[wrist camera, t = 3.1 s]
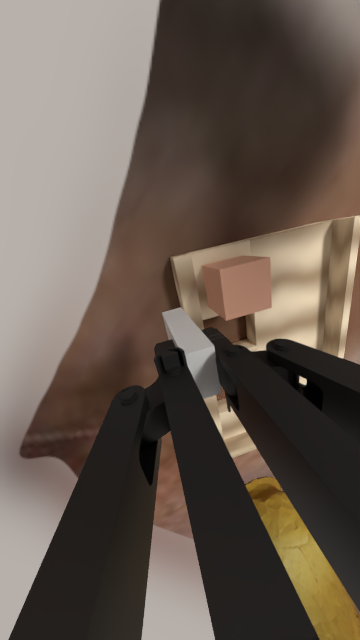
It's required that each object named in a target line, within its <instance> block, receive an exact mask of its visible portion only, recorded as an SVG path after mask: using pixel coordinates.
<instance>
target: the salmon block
mask: <svg viewBox="0 0 360 640" xmlns="http://www.w3.org/2000/svg"><path fill="white" fill-rule="evenodd" d="M202 270H203V276H204V282H205V288H206V295H207V301H208V307H209V308H210V309H212V310H213V311H214V312H216V313H217V314H218V315H219V316H221V317H222V318H223V319H224V320H226V321H227V320H231V319H234V318H238V317H241V316H245V315H248V314H252V313H255V312H258V311H262V310H265V309H269V308H272V297H271V263H270V257H260V256H244V255H243V256H238V257H234V258H230V259H226V260H222V261H218V262H214V263H210V264H206V265H202Z"/></svg>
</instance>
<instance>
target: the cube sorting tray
mask: <svg viewBox="0 0 360 640" xmlns="http://www.w3.org/2000/svg"><path fill="white" fill-rule="evenodd" d="M359 238H360V216H353V217H346V218H339V219H333V220H326V221H320V222H316V223H312V224H308V225H303V226H299V227H295V228H291V229H286V230H282V231H278V232H274V233H269V234H265V235H261V236H257V237H252V238H248V239H244V240H240V241H235V242H231V243H227V244H223V245H218V246H214V247H210V248H206V249H201V250H197V251H193V252H189V253H184V254H180V255H176V256H172V257H170V262H171V266H172V271H173V276H174V280H175V285H176V289H177V294H178V298H179V303H180V307H181V308H182V309H183V310H184V311H185V312H186V314H187V315H188V316H189V317H190V318H191V319H192V321H193V322H194V323H195V324H196V325H197V326H198V328H199V329H200V330H203V329H204V325H203V320H206V319H209V318H213V317H216V316H219V315H218V314H217V313H216V312H214V311H213V310H212V309H210V308H209V307H208V301H207V295H206V288H205V282H204V276H203V270H202V265H206V264H210V263H214V262H218V261H222V260H226V259H230V258H234V257H238V256H243V255H244V256H260V257H270V263H271V297H272V308H269V309H265V310H262V311H258V312H255V313H252V314H248V315H245V318H246V330H247V338H246V339H243V340H240V341H236V342H233V343H232V344H233V345H242V346H244V347H246V348H247V349H249V350H250V351H251V352H252V351H263V350H266V344H267V343H268V342H269V341H271V340H274V339H289V340H293V341H295V342H298V343H301V344H304V345H306V346H309V347H312V348H315V349H318V350H320V351H323V352H326V353H329V354H331V355H334V356H337V357H340V358H342V359H343V358H344V350H345V343H346V335H347V328H348V320H349V313H350V306H351V298H352V291H353V283H354V276H355V268H356V261H357V253H358V246H359ZM299 383H301V384H304V385H306V384H307V379H305V378H303V377H301V376H300V377H299ZM204 401H205V403H206V405H207V407H208V409H209V411H210V414H211V416H212V418H213V420H214V422H215V424H216V426H217V428H218V430H219V432H220V434H221V436H222V438H223V440H224V442H225V445H226V447H227V449H228V451H229V453H230V455H231V457H232V458H234V457H237V456H239V455H242V454H244V453H247V452H250V451H252V450H255V449H257V448H256V446H255V444H254V443H253V441H252V440H251V438H250V436H249V435H248V433H247V432H246V430H245V428H244V427H243V425H242V424H241V422H240V421H239V419H238V417H237V416H236V414H235V413H234V411H233V409H232V408H231V406H230V409H231V412H228V409H227V402H226V398H224V399H221V400H218V401H217V398H216V395H214V396H212V397H209V398H206V399H204Z"/></svg>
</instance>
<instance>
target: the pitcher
mask: <svg viewBox="0 0 360 640" xmlns="http://www.w3.org/2000/svg"><path fill="white" fill-rule="evenodd" d="M245 486H246V488H247V490H248V492H249V494H250V496H251V498H252V500H253V503H254V505H255V507H256V509H257V511H258V513H259V515H260V517H261V519H262V521H263V523H264V525H265V527H266V529H267V531H268V534H269V536H270V538H271V540H272V542H273V544H274V546H275V548H276V550H277V552H278V554H279V556H280V558H281V560H282V563H283V565H284V567H285V569H286V571H287V573H288V575H289V577H290V579H291V581H292V583H293V585H294V587H295V589H296V592H297V594H298V596H299V598H300V600H301V602H302V604H303V606H304V608H305V610H306V612H307V614H308V616H309V618H310V620H311V623H312V625H313V627H314V629H315V631H316V633H317V635H318V637H319V639H320V640H360V614H359V612H358V610H357V608H356V606H355V604H354V602H353V601H352V599H351V597H350V596H349V594H348V593H347V591H346V589H345V588H344V586H343V585H342V583H341V581H340V580H339V578H338V577H337V575H336V574H335V572H334V570H333V569H332V567H331V566H330V564H329V562H328V561H327V559H326V558H325V556H324V554H323V553H322V551H321V550H320V548H319V546H318V545H317V543H316V542H315V540H314V538H313V537H312V535H311V534H310V532H309V530H308V529H307V527H306V526H305V524H304V523H303V521H302V519H301V518H300V516H299V515H298V513H297V511H296V510H295V508H294V507H293V505H292V503H291V502H290V500H289V499H288V497H287V495H286V494H285V492H284V491H281V486H280V484H279V483H278V481H277V479H274V478H271V477H265V478H264V477H263V478H259V479H258V480H257V479H254V480H253V481H252V482H250V483H249V484H246V485H245Z"/></svg>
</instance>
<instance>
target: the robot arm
mask: <svg viewBox="0 0 360 640" xmlns="http://www.w3.org/2000/svg"><path fill="white" fill-rule="evenodd" d="M162 315H163V319H164V323H165V327H166V331H167V335H168V338H169V340H168V341H165V342H161V343H158V344H156V346H155V348H154V351H155V358H154V361H155V365H156V368H157V371H158V374H159V377H158V379H157V380H156V381H155V382H154V383H153V384H152V385H151V386H149V387H147V388H146V389H144V388H143V387H141V386H130V387H127V388H125V389H123V390H121V391H120V392H119V393H118V394H117V395H116V396H115V397H114V399H113V401H112V403H111V405H110V407H109V410H108V412H107V414H106V417H105V419H104V421H103V424H102V426H101V428H100V430H99V433H98V435H97V437H96V440H95V442H94V444H93V447H92V449H91V451H90V453H89V456H88V458H87V460H86V463H85V465H84V467H83V469H82V472H81V474H80V476H79V479H78V481H77V483H76V486H75V488H74V490H73V492H72V495H71V497H70V499H69V502H68V504H67V506H66V509H65V511H64V513H63V515H62V518H61V520H60V522H59V525H58V527H57V529H56V532H55V534H54V536H53V539H52V541H51V543H50V545H49V548H48V550H47V552H46V555H45V557H44V559H43V561H42V564H41V566H40V568H39V571H38V573H37V575H36V578H35V580H34V582H33V584H32V587H31V589H30V591H29V594H28V596H27V598H26V601H25V603H24V605H23V608H22V610H21V612H20V614H19V617H18V619H17V621H16V624H15V626H14V628H13V631H12V633H11V635H10V637H9V640H141V637H142V627H143V617H144V608H145V597H146V588H147V578H148V568H149V558H150V549H151V539H152V529H153V519H154V510H155V500H156V490H157V480H158V470H159V461H160V451H161V437H162V436H164V435H165V434H167V433H168V432H169V431H171V435H172V439H173V444H174V449H175V453H176V458H177V463H178V467H179V472H180V477H181V481H182V486H183V491H184V495H185V500H186V505H187V510H188V514H189V519H190V524H191V528H192V533H193V538H194V542H195V547H196V552H197V556H198V561H199V566H200V570H201V575H202V580H203V584H204V589H205V593H206V598H207V603H208V608H209V613H210V616H211V622H212V627H213V631H214V636H215V640H320V639H319V637H318V635H317V633H316V631H315V629H314V627H313V625H312V623H311V620H310V618H309V616H308V614H307V612H306V610H305V608H304V606H303V604H302V602H301V600H300V598H299V596H298V594H297V592H296V589H295V587H294V585H293V583H292V581H291V579H290V577H289V575H288V573H287V571H286V569H285V567H284V565H283V563H282V560H281V558H280V556H279V554H278V552H277V550H276V548H275V546H274V544H273V542H272V540H271V538H270V536H269V534H268V531H267V529H266V527H265V525H264V523H263V521H262V519H261V517H260V515H259V513H258V511H257V509H256V507H255V505H254V503H253V500H252V498H251V496H250V494H249V492H248V490H247V488H246V486H245V484H244V482H243V480H242V478H241V476H240V474H239V471H238V469H237V467H236V465H235V463H234V461H233V459H232V457H231V455H230V453H229V451H228V449H227V447H226V445H225V442H224V440H223V438H222V436H221V434H220V432H219V430H218V428H217V426H216V424H215V422H214V420H213V418H212V416H211V414H210V411H209V409H208V407H207V405H206V403H205V401H204V399H206V398H209V397H212V396H214V395H217V394H220V393H222V390H221V386H222V387H223V389H224V390H225V396H226V402H227V409H228V412H231V409H230V406H231V408H232V409H233V411H234V413H235V414H236V416H237V417H238V419H239V421H240V422H241V424H242V425H243V427H244V428H245V430H246V432H247V433H248V435H249V436H250V438H251V440H252V441H253V443H254V444H255V446H256V448H257V449H258V451H259V452H260V454H261V456H262V457H263V459H264V460H265V462H266V464H267V465H268V467H269V468H270V470H271V472H272V473H273V475H274V476H275V478H276V479H277V481H278V483H279V484H280V486H281V487H282V489H283V491H284V492H285V494H286V495H287V497H288V499H289V500H290V502H291V503H292V505H293V507H294V508H295V510H296V511H297V513H298V515H299V516H300V518H301V519H302V521H303V523H304V524H305V526H306V527H307V529H308V530H309V532H310V534H311V535H312V537H313V538H314V540H315V542H316V543H317V545H318V546H319V548H320V550H321V551H322V553H323V554H324V556H325V558H326V559H327V561H328V562H329V564H330V566H331V567H332V569H333V570H334V572H335V574H336V575H337V577H338V578H339V580H340V581H341V583H342V585H343V586H344V588H345V589H346V591H347V593H348V594H349V596H350V597H351V599H352V601H353V602H354V604H355V605H356V607H357V609H358V610H359V612H360V365H359V364H356V363H354V362H351V361H348V360H345V359H342V358H340V357H337V356H334V355H331V354H329V353H326V352H323V351H320V350H318V349H315V348H312V347H309V346H306V345H304V344H301V343H298V342H295V341H293V340H289V339H274V340H271V341H269V342H268V343H267V344H266V350H263V351H252V352H251V351H250V350H249V349H247V348H246V347H244V346H242V345H233V344H232V343H231V342H230V341H229V340H228V339H227V338H226V337H225V336H224V335H223V334H221V333H220V332H219V331H218V330H217V329H214V328H211V327H210V328H206V329H203V330H200V329H199V328H198V326H197V325H196V324H195V323H194V322H193V321H192V319H191V318H190V317H189V316H188V315H187V314H186V312H185V311H184V310H183V309H182V308H181V307H180V308H176V309H173V310H169V311H165V312H162ZM300 376H301V377H303V378H305V379H307V384H306V385H304V384H301V383H299V377H300Z"/></svg>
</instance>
